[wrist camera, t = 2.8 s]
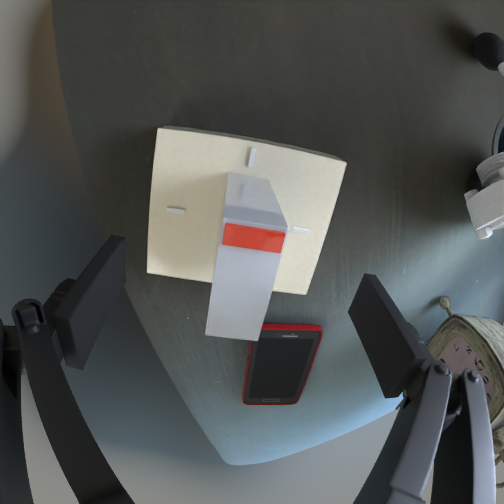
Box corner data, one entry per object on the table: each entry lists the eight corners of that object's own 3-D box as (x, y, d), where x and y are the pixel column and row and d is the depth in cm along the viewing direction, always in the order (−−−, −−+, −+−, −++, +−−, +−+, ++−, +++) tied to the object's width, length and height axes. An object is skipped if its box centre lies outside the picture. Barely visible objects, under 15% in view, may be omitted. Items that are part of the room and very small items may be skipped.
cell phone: (241, 399, 38) (241, 405, 37) (252, 321, 31) (253, 327, 30) (296, 399, 39) (297, 404, 38) (322, 323, 32) (324, 329, 31)
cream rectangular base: (154, 256, 27) (146, 274, 25) (166, 125, 22) (156, 128, 19) (300, 277, 29) (306, 296, 26) (335, 155, 24) (347, 163, 21)
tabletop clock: (439, 283, 31) (555, 449, 9) (479, 292, 32) (578, 424, 10) (386, 367, 37) (447, 522, 15) (429, 367, 39) (491, 496, 17)
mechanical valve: (459, 247, 25) (569, 195, 11) (402, 103, 29) (456, 12, 15) (511, 232, 26) (599, 189, 11) (459, 107, 30) (514, 38, 15)
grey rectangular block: (250, 262, 25) (258, 344, 16) (213, 257, 24) (204, 338, 16) (268, 179, 22) (290, 230, 13) (227, 172, 21) (222, 219, 13)
